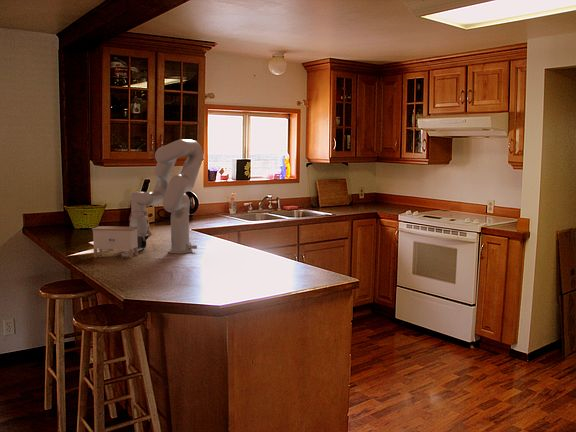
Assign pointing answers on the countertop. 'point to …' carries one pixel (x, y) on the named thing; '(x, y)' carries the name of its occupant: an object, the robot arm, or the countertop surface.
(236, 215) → the countertop surface
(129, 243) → the cabinet
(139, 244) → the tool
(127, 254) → the round metal knob
